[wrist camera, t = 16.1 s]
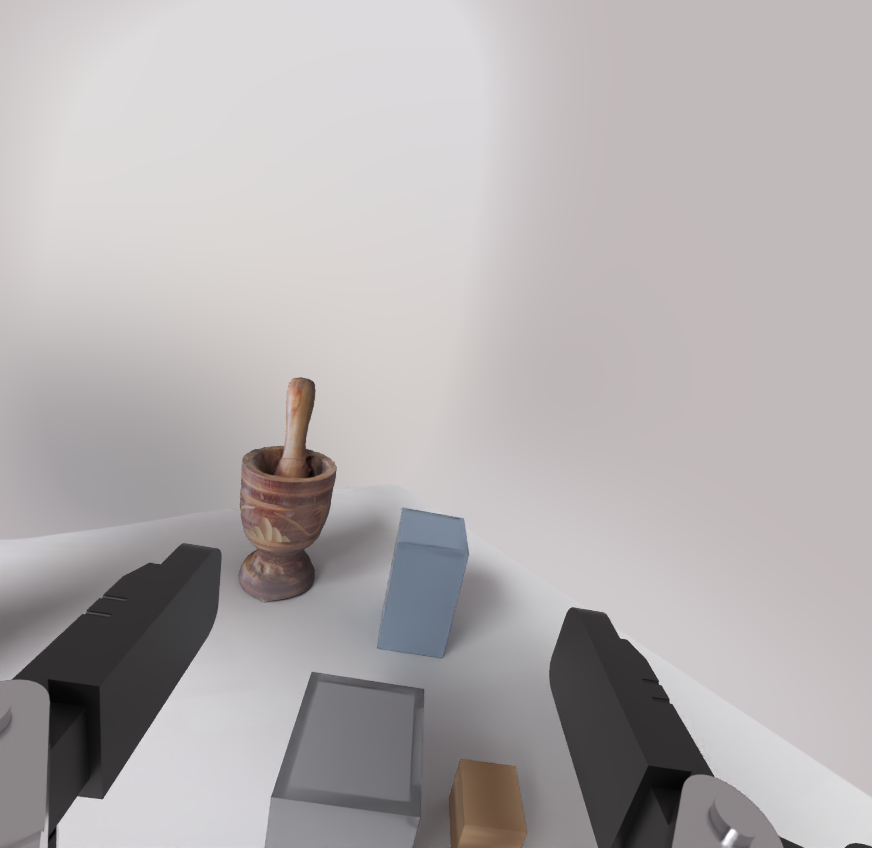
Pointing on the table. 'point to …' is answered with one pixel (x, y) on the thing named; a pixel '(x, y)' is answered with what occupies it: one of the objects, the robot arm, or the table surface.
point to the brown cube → (486, 807)
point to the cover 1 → (350, 768)
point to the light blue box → (423, 583)
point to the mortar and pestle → (285, 504)
